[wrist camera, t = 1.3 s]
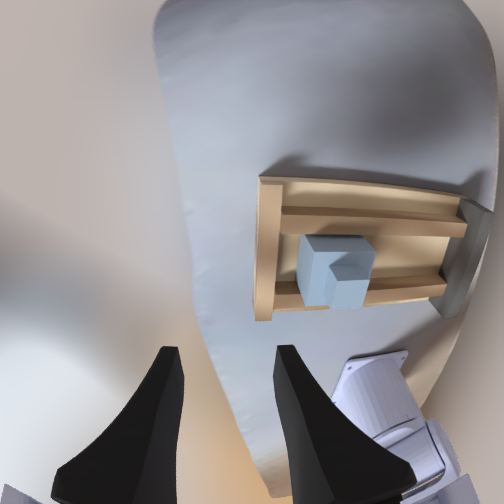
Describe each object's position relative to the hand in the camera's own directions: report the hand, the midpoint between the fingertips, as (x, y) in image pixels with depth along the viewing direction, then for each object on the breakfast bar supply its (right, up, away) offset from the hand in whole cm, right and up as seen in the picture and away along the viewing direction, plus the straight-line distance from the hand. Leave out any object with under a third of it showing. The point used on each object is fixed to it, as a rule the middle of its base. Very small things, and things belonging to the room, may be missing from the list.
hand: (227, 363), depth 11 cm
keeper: (+6, +4, +9) cm, 11 cm away
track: (+10, +5, +10) cm, 15 cm away
